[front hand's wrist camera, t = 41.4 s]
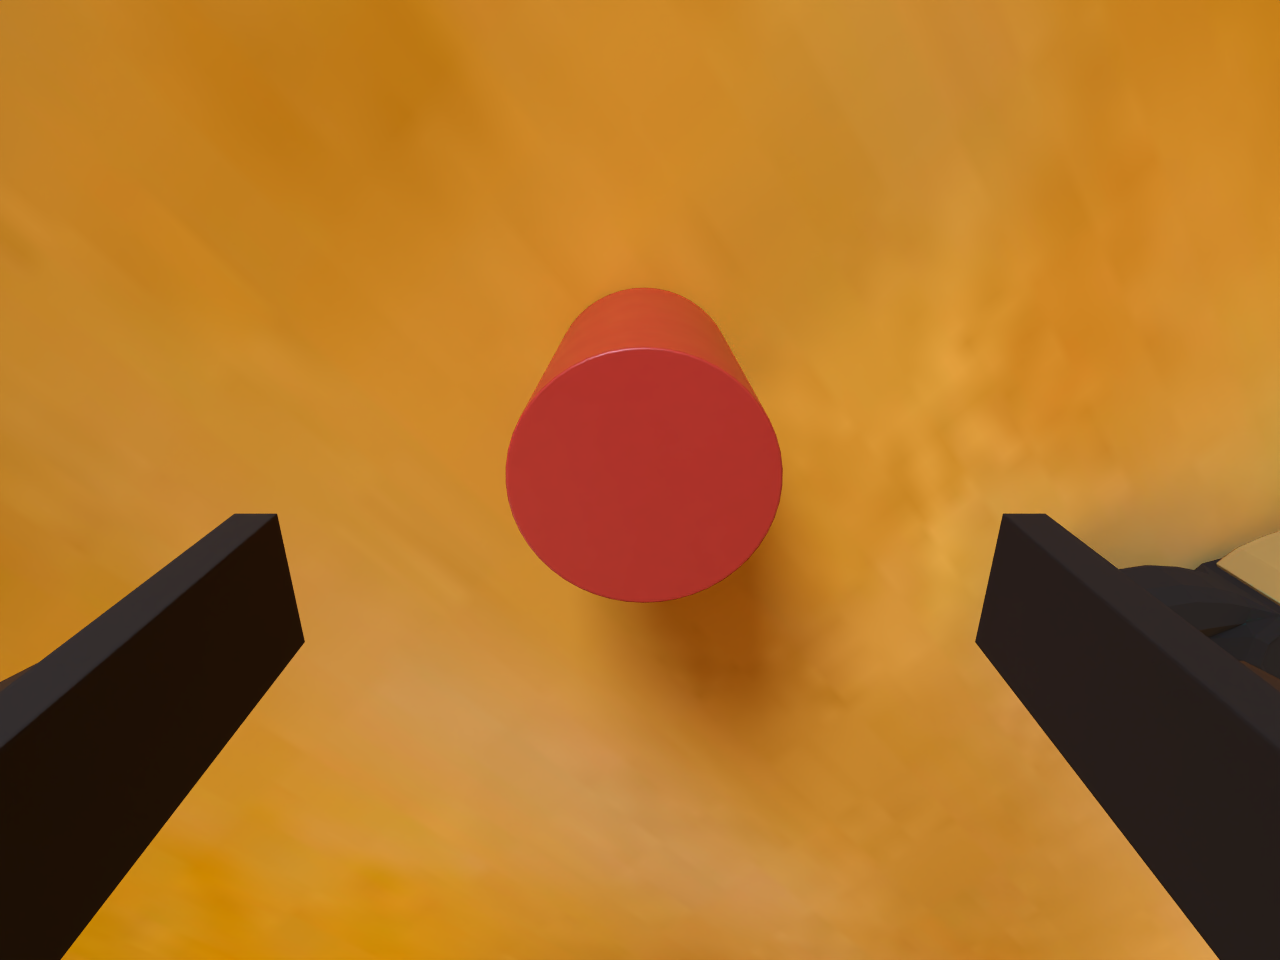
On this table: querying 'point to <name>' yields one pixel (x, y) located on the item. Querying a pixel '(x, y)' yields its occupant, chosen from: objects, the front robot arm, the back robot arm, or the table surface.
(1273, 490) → the table surface
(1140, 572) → the toy gun
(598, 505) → the canister
